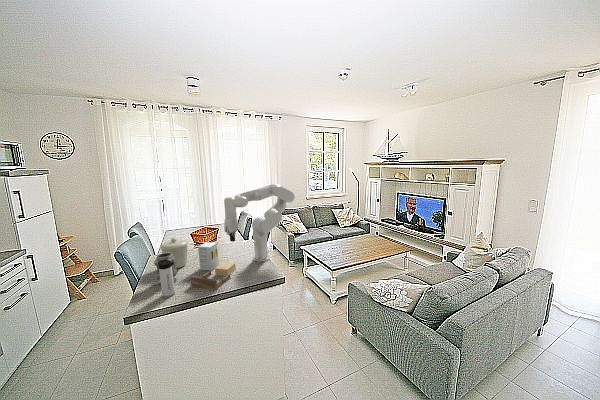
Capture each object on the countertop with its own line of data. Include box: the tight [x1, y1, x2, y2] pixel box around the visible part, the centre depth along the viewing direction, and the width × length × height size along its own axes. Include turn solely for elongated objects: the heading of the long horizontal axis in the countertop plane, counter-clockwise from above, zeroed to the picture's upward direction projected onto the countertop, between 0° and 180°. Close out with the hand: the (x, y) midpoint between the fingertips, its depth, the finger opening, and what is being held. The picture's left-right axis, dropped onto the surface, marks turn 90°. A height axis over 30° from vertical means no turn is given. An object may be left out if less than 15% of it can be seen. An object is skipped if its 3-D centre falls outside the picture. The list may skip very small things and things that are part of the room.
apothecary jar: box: [153, 252, 179, 287], centre depth 148 cm, size 12×12×18 cm
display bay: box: [189, 270, 231, 292], centre depth 147 cm, size 16×18×6 cm
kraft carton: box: [214, 261, 237, 277], centre depth 160 cm, size 10×9×5 cm
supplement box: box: [197, 241, 220, 272], centre depth 168 cm, size 10×9×17 cm
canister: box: [159, 237, 189, 270], centre depth 171 cm, size 18×18×21 cm
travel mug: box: [158, 260, 176, 299], centre depth 133 cm, size 6×7×20 cm
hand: (232, 241), depth 167 cm, fingers closed
